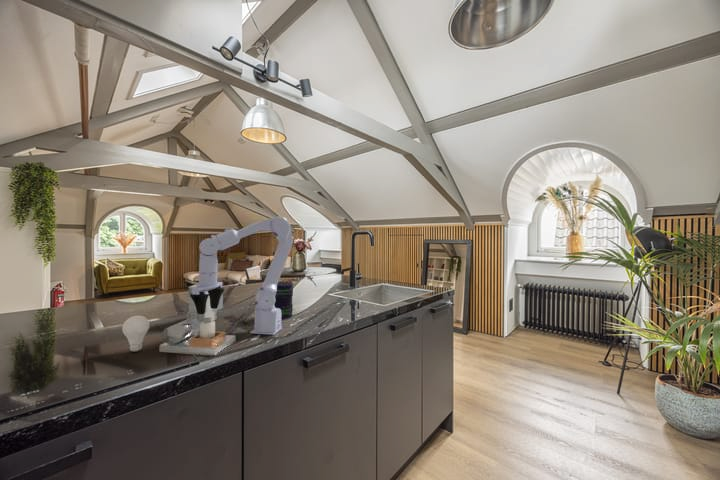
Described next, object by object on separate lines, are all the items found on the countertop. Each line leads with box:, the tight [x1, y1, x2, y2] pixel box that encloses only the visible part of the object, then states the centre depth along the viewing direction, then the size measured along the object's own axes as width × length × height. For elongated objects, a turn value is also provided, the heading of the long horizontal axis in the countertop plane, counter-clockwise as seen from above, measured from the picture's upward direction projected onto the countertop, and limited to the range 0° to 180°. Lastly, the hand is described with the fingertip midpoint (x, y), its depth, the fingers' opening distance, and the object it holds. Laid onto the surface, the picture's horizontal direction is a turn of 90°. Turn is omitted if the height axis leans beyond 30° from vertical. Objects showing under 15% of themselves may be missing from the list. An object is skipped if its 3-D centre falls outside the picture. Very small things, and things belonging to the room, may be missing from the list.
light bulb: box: [121, 315, 150, 353], centre depth 90 cm, size 7×7×11 cm
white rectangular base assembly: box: [158, 317, 237, 356], centre depth 95 cm, size 18×12×8 cm, turn 84°
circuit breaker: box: [186, 284, 224, 322], centre depth 124 cm, size 8×14×15 cm, turn 174°
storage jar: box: [274, 281, 294, 321], centre depth 131 cm, size 10×10×15 cm
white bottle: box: [199, 318, 216, 339], centre depth 95 cm, size 4×4×7 cm
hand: (207, 311), depth 103 cm, fingers open, 7 cm apart
